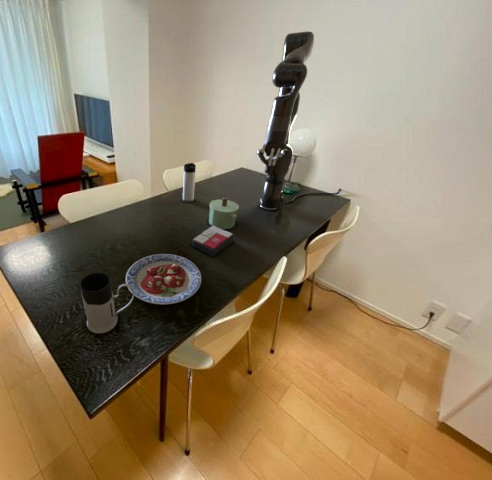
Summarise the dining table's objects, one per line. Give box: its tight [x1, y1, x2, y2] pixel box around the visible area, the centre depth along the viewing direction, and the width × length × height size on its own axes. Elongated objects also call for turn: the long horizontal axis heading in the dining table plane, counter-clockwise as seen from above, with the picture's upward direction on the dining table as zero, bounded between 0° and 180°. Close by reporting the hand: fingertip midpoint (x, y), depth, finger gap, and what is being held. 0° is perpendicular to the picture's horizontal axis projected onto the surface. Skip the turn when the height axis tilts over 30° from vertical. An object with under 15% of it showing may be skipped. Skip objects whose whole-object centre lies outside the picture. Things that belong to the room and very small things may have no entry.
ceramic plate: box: [125, 253, 202, 306], centre depth 91 cm, size 26×26×3 cm
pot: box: [208, 207, 239, 230], centre depth 125 cm, size 13×18×8 cm
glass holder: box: [79, 271, 135, 334], centre depth 73 cm, size 9×14×15 cm, turn 93°
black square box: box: [191, 225, 235, 257], centre depth 111 cm, size 11×4×15 cm
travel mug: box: [182, 162, 197, 203], centre depth 144 cm, size 6×7×20 cm
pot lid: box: [209, 196, 240, 213], centre depth 122 cm, size 14×14×5 cm
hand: (268, 174), depth 107 cm, fingers closed
